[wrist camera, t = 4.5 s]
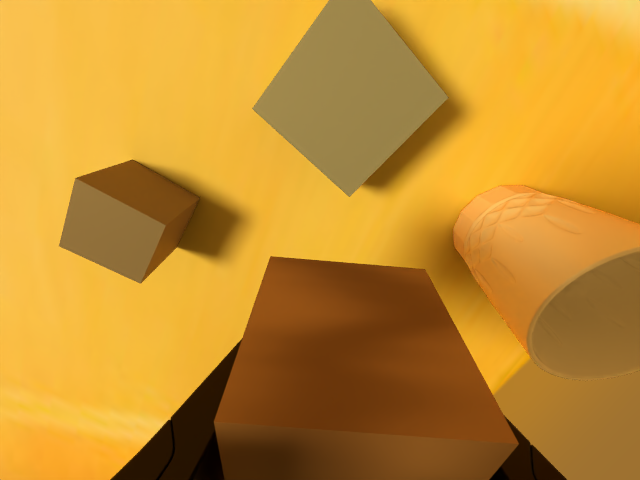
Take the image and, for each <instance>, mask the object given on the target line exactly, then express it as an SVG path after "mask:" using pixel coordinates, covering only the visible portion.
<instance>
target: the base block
mask: <svg viewBox="0 0 640 480" xmlns="http://www.w3.org/2000/svg"><path fill="white" fill-rule="evenodd" d="M448 98H449V97H448V96H447V95H446V94H445V92H444V91H443V90H442V89H441V87H440V86H439V85H438V84H437V82H436V81H435V80H434V79H433V77H432V76H431V75H430V74H429V72H428V71H427V70H426V69H425V67H424V66H423V65H422V64H421V62H420V61H419V60H418V59H417V57H416V56H415V55H414V54H413V52H412V51H411V50H410V49H409V47H408V46H407V45H406V44H405V42H404V41H403V40H402V39H401V37H400V36H399V35H398V34H397V32H396V31H395V30H394V29H393V28H392V26H391V25H390V24H389V23H388V21H387V20H386V19H385V18H384V16H383V15H382V14H381V13H380V11H379V10H378V9H377V8H376V6H375V5H374V4H373V3H372V1H371V0H329V1H328V3H327V4H326V6H325V7H324V8H323V10H322V11H321V13H320V14H319V15H318V17H317V18H316V20H315V21H314V22H313V24H312V25H311V27H310V28H309V30H308V31H307V32H306V34H305V35H304V37H303V38H302V39H301V41H300V42H299V44H298V45H297V46H296V48H295V49H294V51H293V52H292V54H291V55H290V56H289V58H288V59H287V61H286V62H285V63H284V65H283V66H282V68H281V69H280V70H279V72H278V73H277V75H276V76H275V77H274V79H273V80H272V82H271V83H270V85H269V86H268V87H267V89H266V90H265V92H264V93H263V94H262V96H261V97H260V99H259V100H258V101H257V103H256V104H255V106H254V107H253V108H252V109H253V110H254V111H255V112H256V113H257V114H259V115H260V116H261V117H262V118H263V119H264V120H265V121H266V122H267V123H268V124H270V125H271V126H272V127H273V128H274V129H275V130H276V131H277V132H278V133H279V134H281V135H282V136H283V137H284V138H285V139H286V140H287V141H288V142H289V143H290V144H292V145H293V146H294V147H295V148H296V149H297V150H298V151H299V152H300V153H301V154H303V155H304V156H305V157H306V158H307V159H308V160H309V161H310V162H311V163H312V164H314V165H315V166H316V167H317V168H318V169H319V170H320V171H321V172H322V173H323V174H325V175H326V176H327V177H328V178H329V179H330V180H331V181H332V182H333V183H334V184H336V185H337V186H338V187H339V188H340V189H341V190H342V191H343V192H344V193H345V194H346V195H348V196H349V197H350V196H351V195H352V194H353V193H354V192H355V191H356V190H357V189H358V188H359V187H360V186H361V185H362V184H363V183H364V182H365V181H366V180H367V179H368V178H369V177H370V176H371V175H372V174H373V173H374V172H375V171H376V170H377V169H378V168H379V167H380V166H381V165H382V164H383V163H384V162H385V161H386V160H387V159H388V158H389V157H390V156H391V155H392V154H393V153H394V152H395V151H396V150H397V149H398V148H399V147H400V146H401V145H402V144H403V143H404V142H405V141H406V140H407V139H408V138H409V137H410V136H411V135H412V134H413V133H414V132H415V131H416V130H417V129H418V128H419V127H420V126H421V125H422V124H423V123H424V122H425V121H426V120H427V119H428V118H429V117H430V116H431V115H432V114H433V113H434V112H435V111H436V110H437V109H438V108H439V107H440V106H441V105H442V104H443V103H444V102H445V101H446V100H447V99H448Z"/></svg>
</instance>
